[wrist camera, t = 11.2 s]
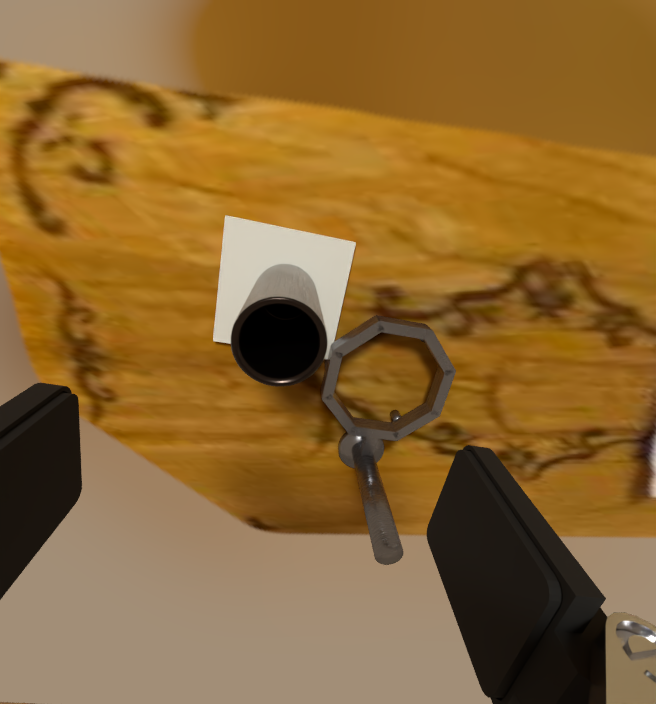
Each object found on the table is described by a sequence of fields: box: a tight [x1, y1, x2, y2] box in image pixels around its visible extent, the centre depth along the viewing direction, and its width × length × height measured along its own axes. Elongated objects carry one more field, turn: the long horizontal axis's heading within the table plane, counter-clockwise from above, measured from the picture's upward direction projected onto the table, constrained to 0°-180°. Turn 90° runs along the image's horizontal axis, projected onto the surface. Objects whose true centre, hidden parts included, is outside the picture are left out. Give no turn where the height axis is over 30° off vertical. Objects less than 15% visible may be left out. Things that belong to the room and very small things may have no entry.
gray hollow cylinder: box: [231, 264, 328, 386], centre depth 22 cm, size 4×4×10 cm
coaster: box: [213, 215, 356, 359], centre depth 27 cm, size 9×9×1 cm
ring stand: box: [321, 315, 456, 565], centre depth 26 cm, size 10×14×11 cm
